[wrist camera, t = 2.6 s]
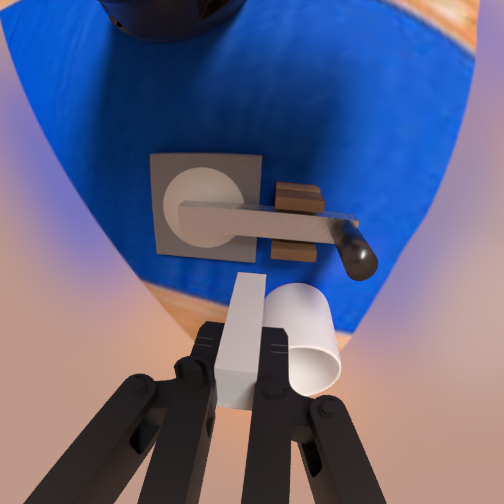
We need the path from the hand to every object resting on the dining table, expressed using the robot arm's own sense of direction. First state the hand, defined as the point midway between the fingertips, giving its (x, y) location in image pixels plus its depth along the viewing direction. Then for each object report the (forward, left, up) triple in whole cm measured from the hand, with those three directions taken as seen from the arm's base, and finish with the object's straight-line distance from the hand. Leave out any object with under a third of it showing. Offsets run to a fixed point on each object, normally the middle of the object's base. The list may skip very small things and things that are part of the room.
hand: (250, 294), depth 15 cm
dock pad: (0, -6, -14) cm, 15 cm away
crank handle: (0, +1, -12) cm, 12 cm away
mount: (0, +3, -14) cm, 14 cm away
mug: (+13, +3, -14) cm, 19 cm away
